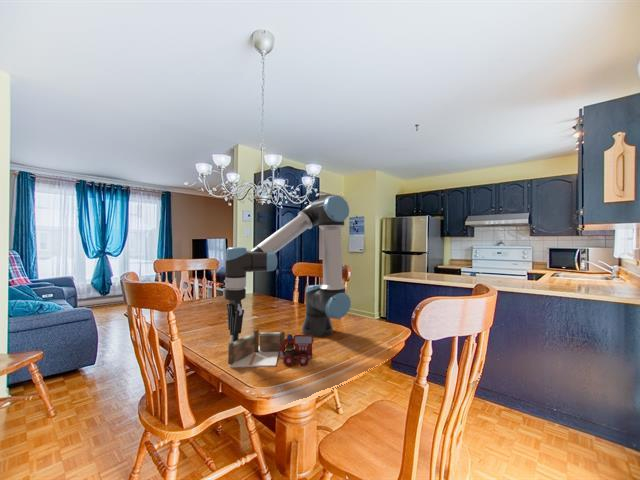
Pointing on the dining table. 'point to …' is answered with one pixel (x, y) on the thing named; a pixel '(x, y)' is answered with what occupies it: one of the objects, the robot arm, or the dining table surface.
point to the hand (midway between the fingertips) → (234, 350)
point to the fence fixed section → (268, 340)
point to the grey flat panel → (241, 348)
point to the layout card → (258, 359)
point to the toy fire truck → (297, 349)
